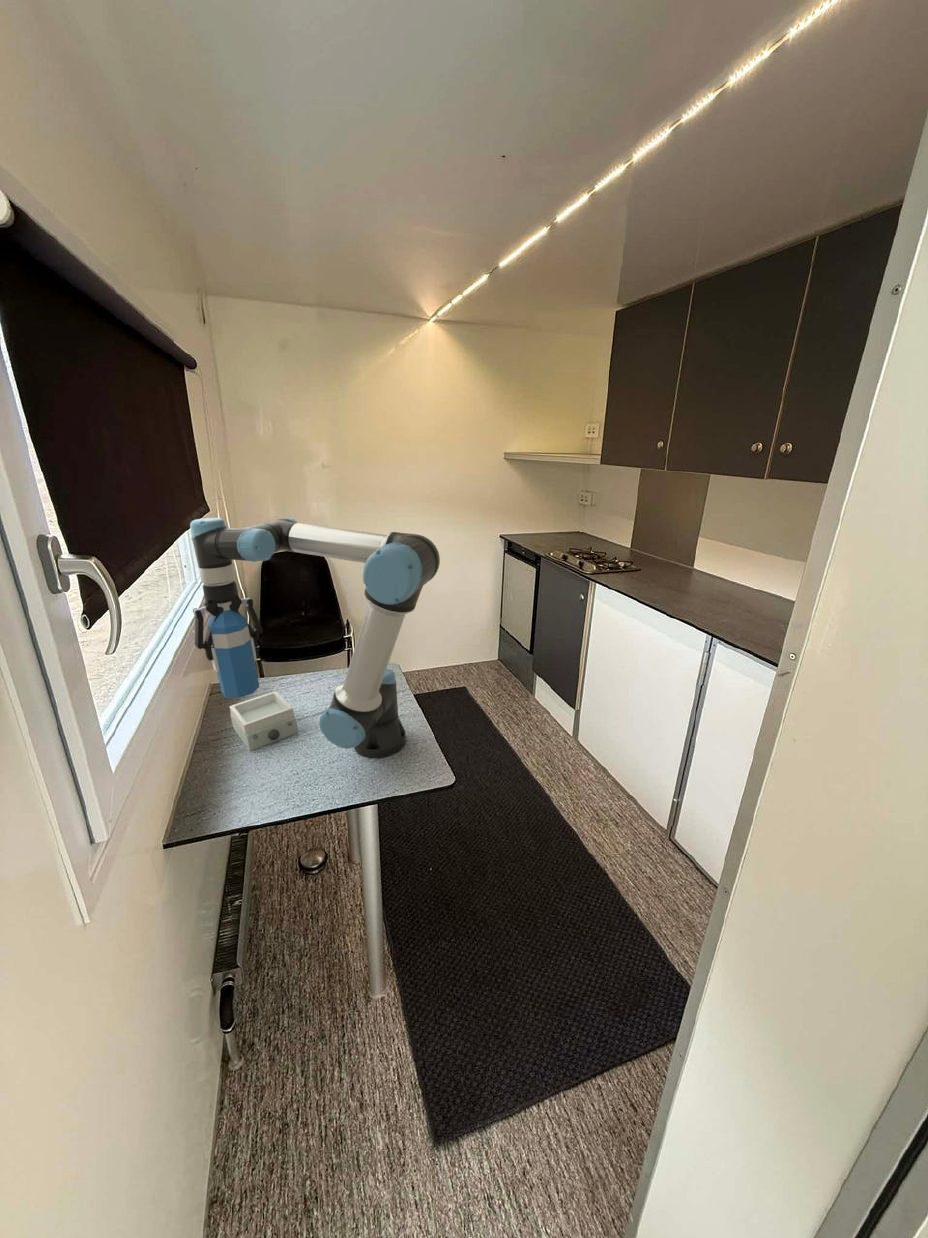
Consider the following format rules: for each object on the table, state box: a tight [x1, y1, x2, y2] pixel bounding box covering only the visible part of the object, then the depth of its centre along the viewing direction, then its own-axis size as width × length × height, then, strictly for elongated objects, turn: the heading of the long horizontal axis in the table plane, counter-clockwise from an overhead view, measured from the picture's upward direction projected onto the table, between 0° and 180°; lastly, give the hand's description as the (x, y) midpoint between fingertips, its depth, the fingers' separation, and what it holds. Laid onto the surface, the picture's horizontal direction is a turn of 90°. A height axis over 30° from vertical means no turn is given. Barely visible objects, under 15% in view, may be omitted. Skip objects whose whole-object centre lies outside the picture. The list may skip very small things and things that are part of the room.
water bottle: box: [206, 601, 260, 699], centre depth 124 cm, size 9×9×25 cm
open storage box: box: [229, 690, 299, 752], centre depth 144 cm, size 17×14×8 cm
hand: (235, 664), depth 125 cm, fingers closed on water bottle, 9 cm apart
